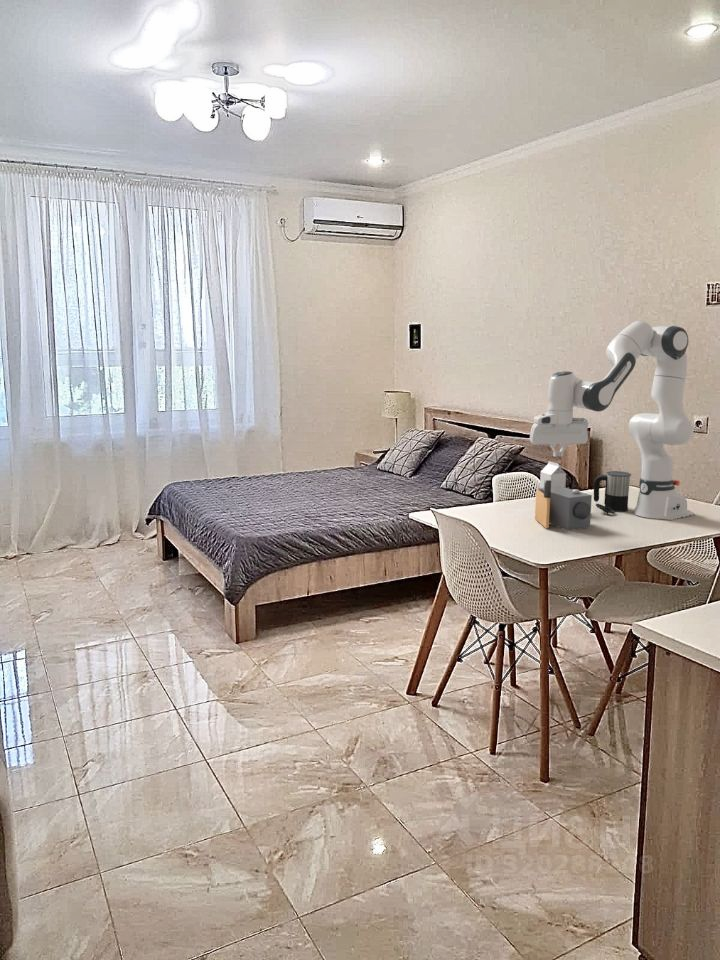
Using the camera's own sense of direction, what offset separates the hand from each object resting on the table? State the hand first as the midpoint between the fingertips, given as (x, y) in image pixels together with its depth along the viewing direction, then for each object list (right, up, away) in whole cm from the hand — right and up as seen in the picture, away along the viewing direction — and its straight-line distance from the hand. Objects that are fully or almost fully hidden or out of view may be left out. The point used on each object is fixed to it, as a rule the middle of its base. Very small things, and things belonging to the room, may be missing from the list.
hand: (557, 456), depth 272 cm
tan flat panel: (-4, -24, +9) cm, 26 cm away
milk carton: (+6, -20, +32) cm, 39 cm away
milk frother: (+29, -21, +29) cm, 46 cm away
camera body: (+5, -25, +11) cm, 27 cm away
